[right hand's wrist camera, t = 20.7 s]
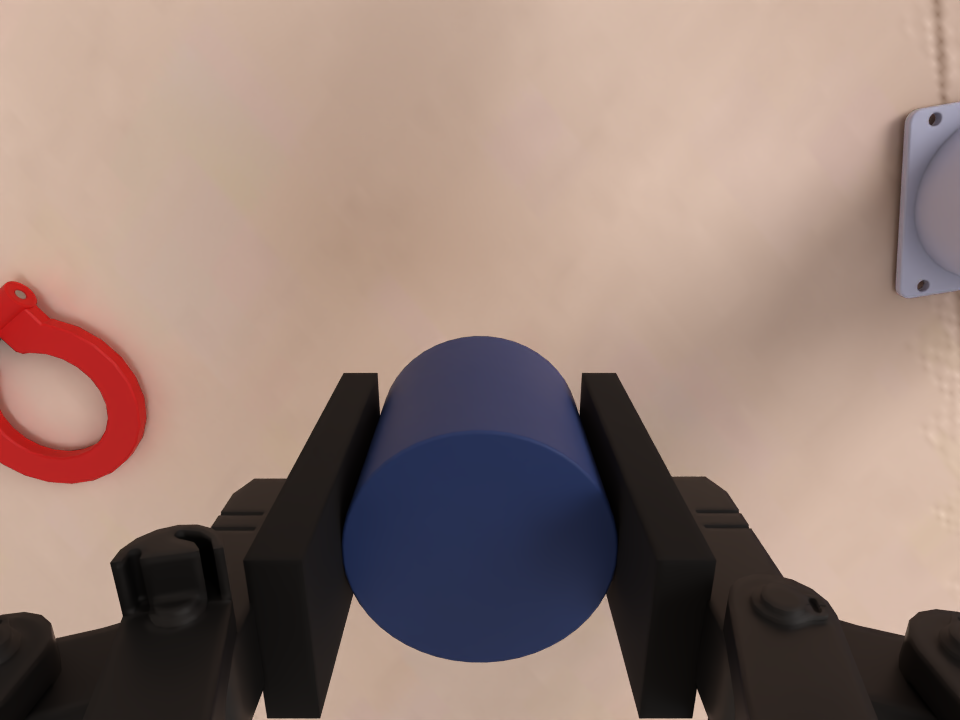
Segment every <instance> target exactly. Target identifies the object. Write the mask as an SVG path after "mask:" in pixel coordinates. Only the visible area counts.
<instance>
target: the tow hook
mask: <svg viewBox="0 0 960 720" xmlns="http://www.w3.org/2000/svg"><path fill="white" fill-rule="evenodd" d="M36 303H37V299H36V296H35V295H34V293H33V292H32V291H31V290H30V289H29V288H28V287H26V286H25V285H23V284H21V283H18V282H13V281H10V282H7V283H6V284H5V285H3V286H2V287H1V288H0V339H2V340H4V341H5V342H6V343H7V344H8V345H9V346H10V347H11V348H12V349H14V350H15V351H16V352H19V353H22V354H25V353H40V354H48V355H51V356H54V357H57V358H61V359H63V360H65V361H67V362H69V363H71V364H72V365H74V366H76V367H78V368H79V369H80V370H81V371H83V372H84V373H85V374H86V375H87V376H88V377H90V378H91V380H92V381H93V382H94V384H95V385H96V386H97V387H98V389H99V390H100V392H101V394H102V396H103V399H104V401H105V403H106V407H107V415H108V421H107V426H106V431H105V433H104V435H103V436H102V438H101V440H100V441H99V442H98V443H97V444H94V445H92V446H90V447H88V448H85V449H80V450H74V451H64V450H54V449H51V448H47V447H44V446H40V445H38V444H37V443H35V442H33V441H31V440H29V439H27V438H25V437H24V436H23V435H21V434H20V433H19V432H18V431H16V430H15V429H14V428H13V427H12V426H11V425H10V423H9V422H8V421H7V420H6V419H5V417H4V416H3V414H2V412H1V410H0V462H1V463H2V464H3V465H5V466H7V467H9V468H11V469H13V470H15V471H17V472H19V473H21V474H23V475H25V476H29V477H33V478H36V479H40V480H43V481H47V482H56V483H70V484H73V483H80V482H86V481H93V480H96V479H98V478H100V477H103V476H105V475H107V474H109V473H112V472H113V471H114V470H116V469H117V468H118V467H119V466H120V465H121V464H123V463H124V462H125V461H126V460H127V459H128V458H129V457H130V456H131V455H132V454H133V452H134V451H135V449H136V447H137V446H138V444H139V442H140V441H141V439H142V437H143V433H144V428H145V423H146V410H145V400H144V396H143V394H142V391H141V389H140V386H139V384H138V381H137V379H136V377H135V375H134V374H133V373H132V371H131V370H130V368H129V367H128V366H127V364H126V363H125V362H124V360H123V359H122V357H121V356H119V355H118V354H117V353H116V352H115V351H114V350H113V349H111V348H110V347H109V346H108V345H107V344H106V343H105V342H104V341H102V340H101V339H99V338H97V337H96V336H94V335H92V334H90V333H88V332H87V331H85V330H83V329H81V328H80V327H77V326H74V325H71V324H68V323H65V322H61V321H58V320H55V319H50V318H49V317H48V316H47V315H46V314H45V313H44V312H43V311H41V310H40V309H39V308H38V307H37V306H36Z"/></svg>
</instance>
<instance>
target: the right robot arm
mask: <svg viewBox="0 0 960 720" xmlns="http://www.w3.org/2000/svg"><path fill="white" fill-rule="evenodd" d="M379 418H380V407H379V390H378V373H343V375H342V377H341V379H340V381H339V383H338V385H337V386H336V388H335V390H334V392H333V394H332V396H331V398H330V399H329V401H328V403H327V405H326V407H325V409H324V411H323V412H322V414H321V416H320V418H319V420H318V422H317V424H316V426H315V427H314V429H313V431H312V433H311V435H310V437H309V439H308V440H307V442H306V444H305V446H304V448H303V450H302V452H301V453H300V455H299V457H298V459H297V461H296V463H295V465H294V466H293V468H292V470H291V472H290V474H289V476H288V478H287V479H253V480H252V481H251V482H249V483H248V484H246V485H245V486H244V487H242V488H241V489H239V490H238V491H237V492H235V493H234V494H233V495H232V496H231V498H230V499H229V501H228V502H227V504H226V505H225V507H224V508H223V510H222V511H221V516H218V517H217V519H216V521H215V522H214V524H213V525H212V527H211V528H208V527H205V526H201V525H176V526H172V527H167V528H163V529H158V530H155V531H153V532H151V533H148V534H146V535H144V536H141V537H139V538H137V539H135V540H134V541H132V542H131V543H129V544H128V545H127V546H125V547H124V548H122V549H121V550H120V551H119V552H118V553H117V555H116V556H115V557H114V559H113V560H112V561H111V562H110V564H111V568H112V572H113V577H114V581H115V585H116V589H117V593H118V597H119V602H120V606H121V610H122V614H123V618H122V620H121V623H118V624H115V625H111V626H108V627H104V628H101V629H96V630H92V631H87V632H83V633H78V634H74V635H69V636H65V637H60V638H56V639H55V636H54V632H53V629H52V625H51V623H50V622H49V621H48V620H47V619H45V618H44V617H43V616H42V615H39V614H33V613H27V612H21V613H12V614H4V615H0V720H252V718H253V715H254V713H255V710H256V707H257V705H258V702H259V699H260V697H261V694H262V692H263V694H264V700H265V707H266V713H267V718H320V717H321V713H322V710H323V706H324V702H325V698H326V695H327V691H328V687H329V683H330V679H331V676H332V672H333V668H334V664H335V661H336V657H337V653H338V649H339V646H340V642H341V638H342V634H343V631H344V627H345V623H346V619H347V616H348V612H349V608H350V604H351V601H352V597H353V591H352V589H351V587H350V584H349V582H348V579H347V577H346V574H345V569H344V565H343V558H342V544H341V542H342V531H343V526H344V522H345V518H346V514H347V511H348V508H349V505H350V502H351V499H352V496H353V493H354V490H355V488H356V485H357V482H358V479H359V476H360V473H361V470H362V467H363V464H364V461H365V458H366V455H367V453H368V450H369V447H370V444H371V441H372V438H373V435H374V432H375V429H376V426H377V423H378V420H379ZM580 419H581V422H582V425H583V427H584V430H585V433H586V436H587V439H588V442H589V445H590V448H591V451H592V454H593V457H594V460H595V463H596V466H597V469H598V471H599V474H600V477H601V480H602V483H603V486H604V489H605V492H606V495H607V498H608V501H609V504H610V507H611V510H612V512H613V515H614V519H615V524H616V528H617V534H618V553H617V563H616V567H615V571H614V575H613V579H612V581H611V583H610V586H609V588H608V590H607V593H606V595H607V599H608V602H609V606H610V610H611V614H612V617H613V621H614V625H615V629H616V632H617V636H618V640H619V644H620V647H621V651H622V655H623V659H624V662H625V666H626V670H627V674H628V677H629V681H630V685H631V689H632V692H633V696H634V700H635V704H636V707H637V711H638V715H639V718H692V717H693V710H694V704H695V697H696V691H697V690H698V692H699V695H700V697H701V700H702V703H703V705H704V708H705V711H706V713H707V716H708V720H960V612H955V611H946V610H938V609H934V610H928V611H923V612H918V613H917V614H916V615H915V616H914V617H913V618H911V619H910V620H909V623H908V627H907V630H906V634H905V636H903V635H898V634H894V633H889V632H885V631H880V630H876V629H871V628H867V627H862V626H858V625H854V624H851V623H848V622H844V621H841V620H839V619H838V617H837V615H836V613H835V612H834V610H833V609H832V607H831V606H830V604H829V603H828V601H826V600H825V599H824V598H823V597H821V596H820V595H819V594H818V593H816V592H815V591H814V590H813V589H811V588H809V587H807V586H805V585H803V584H801V583H798V582H796V581H794V580H792V579H788V578H784V577H783V576H782V574H781V573H780V571H779V570H778V568H777V567H776V565H775V564H774V562H773V561H772V559H771V558H770V556H769V555H768V553H767V552H766V550H765V549H764V547H763V546H762V544H761V543H760V541H759V540H758V538H757V537H756V535H755V534H754V532H753V531H752V529H751V528H749V525H748V523H747V522H746V520H745V519H744V517H743V515H742V514H741V513H739V509H738V508H737V506H736V505H735V503H734V502H733V500H732V499H731V497H730V496H729V494H728V493H727V492H726V491H725V490H723V489H722V488H721V487H719V486H718V485H716V484H715V483H714V482H712V481H711V480H709V479H708V478H707V477H671V475H670V473H669V471H668V469H667V467H666V465H665V464H664V462H663V460H662V458H661V456H660V454H659V452H658V451H657V449H656V447H655V445H654V443H653V441H652V439H651V438H650V436H649V434H648V432H647V430H646V428H645V426H644V424H643V423H642V421H641V419H640V417H639V415H638V413H637V411H636V410H635V408H634V406H633V404H632V402H631V400H630V398H629V397H628V395H627V393H626V391H625V389H624V387H623V385H622V384H621V382H620V380H619V378H618V376H617V374H616V373H582V382H581V399H580Z"/></svg>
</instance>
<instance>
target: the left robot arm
mask: <svg viewBox="0 0 960 720" xmlns="http://www.w3.org/2000/svg"><path fill="white" fill-rule="evenodd" d="M932 114H934V115H935V121H934V123H933V124H932V125H930V124H929V121H928V120H929V117H930V116H931V115H932ZM922 280H923V281H924V284H923V286H922V287H921V288H920V289H918V288H917V286H918V283H919V282H920V281H922ZM895 288H896V292H897V293H898V295H900V296H902V297H905V298H915V297H921V296H927V295H934V294H940V293H946V292H953V291H959V290H960V101H959V102H954V103H948V104H942V105H936V106H931V107H925V108H919V109H916V110H913V111H912V112H911V113H909V115H908V116H907V118H906V120H905V126H904V144H903V162H902V180H901V198H900V216H899V234H898V252H897V270H896V287H895Z"/></svg>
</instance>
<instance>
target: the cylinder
mask: <svg viewBox="0 0 960 720" xmlns="http://www.w3.org/2000/svg"><path fill="white" fill-rule="evenodd" d="M341 544H342V558H343V565H344V569H345V574H346V577H347V579H348V582H349V584H350V587H351V589H352V591H353V593H354V595H355V597H356V598H357V600H358V602H359V604H360V605H361V606H362V607H363V609H364V610H365V611H366V613H367V614H368V615H369V616H370V617H371V618H372V619H373V620H374V621H375V622H376V623H377V624H378V625H379V626H380V627H381V628H382V629H383V630H385V631H386V632H387V633H389V634H390V635H391V636H392V637H394V638H396V639H397V640H399V641H401V642H402V643H404V644H406V645H408V646H410V647H412V648H414V649H416V650H419V651H421V652H424V653H427V654H430V655H433V656H436V657H440V658H444V659H449V660H454V661H463V662H497V661H505V660H510V659H516V658H520V657H523V656H527V655H530V654H533V653H536V652H538V651H541V650H543V649H545V648H548V647H550V646H552V645H554V644H555V643H557V642H559V641H561V640H562V639H564V638H565V637H567V636H568V635H570V634H571V633H572V632H574V631H575V630H576V629H578V628H579V627H580V626H581V625H582V624H583V623H584V622H585V621H586V620H587V619H588V618H589V617H590V616H591V615H592V613H593V612H594V611H595V610H596V608H597V607H598V606H599V604H600V603H601V601H602V599H603V598H604V596H605V594H606V593H607V590H608V588H609V586H610V583H611V581H612V579H613V575H614V571H615V567H616V563H617V553H618V534H617V528H616V524H615V519H614V515H613V512H612V510H611V507H610V504H609V501H608V498H607V495H606V492H605V489H604V486H603V483H602V480H601V477H600V474H599V471H598V469H597V466H596V463H595V460H594V457H593V454H592V451H591V448H590V445H589V442H588V439H587V436H586V433H585V430H584V427H583V425H582V422H581V419H580V416H579V413H578V410H577V407H576V404H575V401H574V399H573V396H572V393H571V391H570V389H569V387H568V385H567V383H566V382H565V380H564V378H563V377H562V376H561V375H560V373H559V372H558V371H557V369H556V368H555V367H554V366H553V365H552V364H551V363H550V362H549V361H547V360H546V359H545V358H543V357H542V356H541V355H540V354H538V353H537V352H535V351H533V350H531V349H530V348H528V347H526V346H523V345H521V344H519V343H516V342H513V341H510V340H506V339H502V338H496V337H489V336H472V337H463V338H458V339H454V340H450V341H446V342H444V343H441V344H439V345H436V346H434V347H432V348H430V349H428V350H426V351H425V352H423V353H422V354H420V355H419V356H418V357H416V358H415V359H413V360H412V361H411V362H410V363H409V364H408V365H407V366H406V367H405V368H404V369H403V370H402V372H401V373H400V374H399V375H398V377H397V378H396V380H395V381H394V383H393V385H392V386H391V388H390V390H389V393H388V395H387V397H386V400H385V403H384V406H383V409H382V412H381V415H380V418H379V420H378V423H377V426H376V429H375V432H374V435H373V438H372V441H371V444H370V447H369V450H368V453H367V455H366V458H365V461H364V464H363V467H362V470H361V473H360V476H359V479H358V482H357V485H356V488H355V490H354V493H353V496H352V499H351V502H350V505H349V508H348V511H347V514H346V518H345V522H344V526H343V531H342V542H341Z"/></svg>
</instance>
